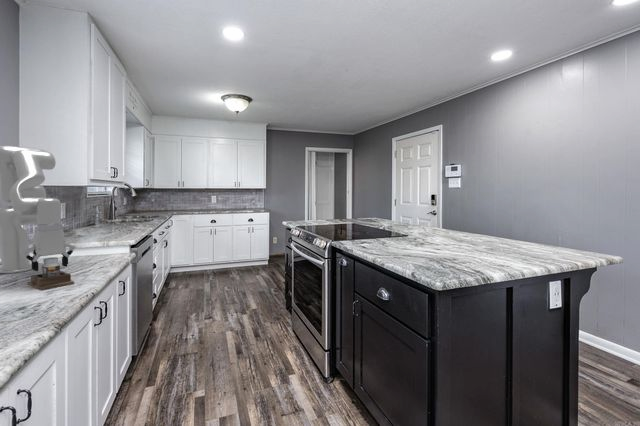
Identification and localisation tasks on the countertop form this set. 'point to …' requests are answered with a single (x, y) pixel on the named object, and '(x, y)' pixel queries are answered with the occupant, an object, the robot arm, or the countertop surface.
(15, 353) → the countertop surface
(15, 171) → the robot arm
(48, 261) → the pill bottle
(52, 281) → the socket board
